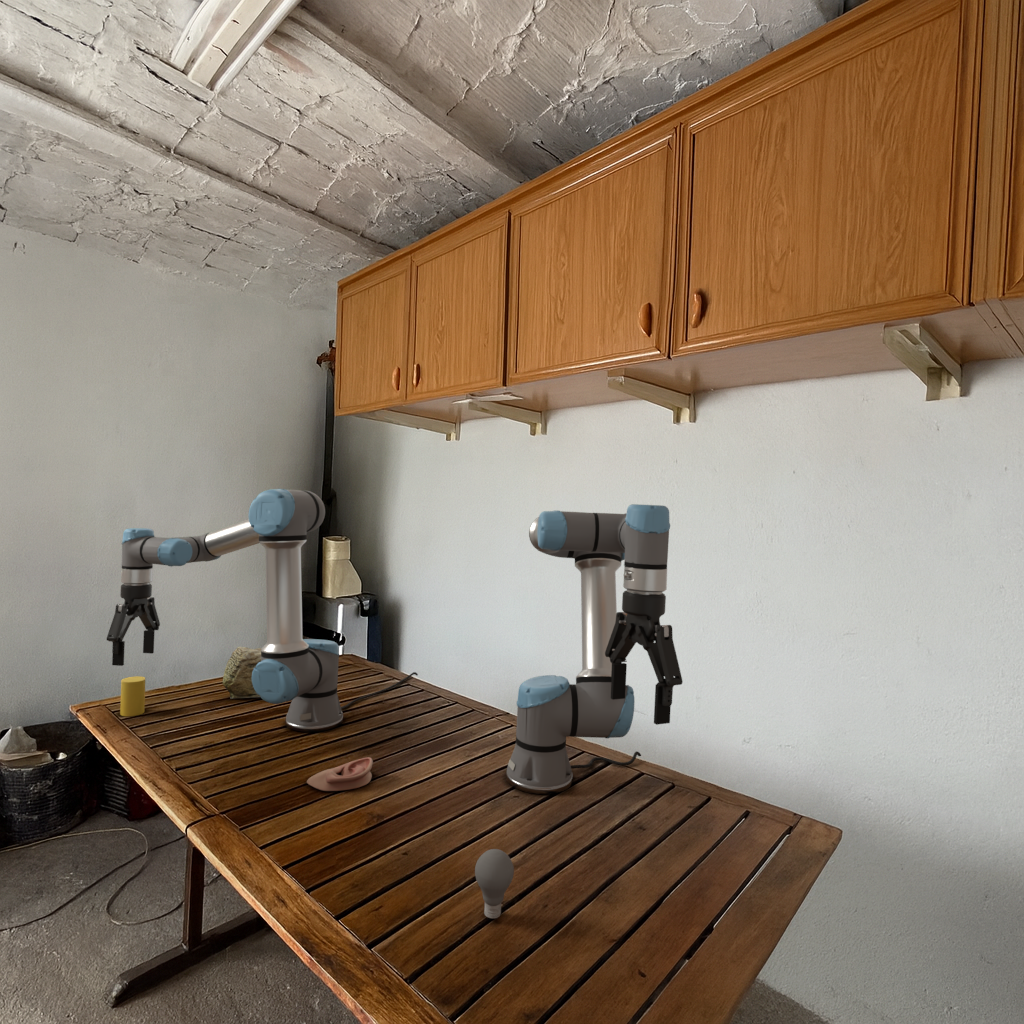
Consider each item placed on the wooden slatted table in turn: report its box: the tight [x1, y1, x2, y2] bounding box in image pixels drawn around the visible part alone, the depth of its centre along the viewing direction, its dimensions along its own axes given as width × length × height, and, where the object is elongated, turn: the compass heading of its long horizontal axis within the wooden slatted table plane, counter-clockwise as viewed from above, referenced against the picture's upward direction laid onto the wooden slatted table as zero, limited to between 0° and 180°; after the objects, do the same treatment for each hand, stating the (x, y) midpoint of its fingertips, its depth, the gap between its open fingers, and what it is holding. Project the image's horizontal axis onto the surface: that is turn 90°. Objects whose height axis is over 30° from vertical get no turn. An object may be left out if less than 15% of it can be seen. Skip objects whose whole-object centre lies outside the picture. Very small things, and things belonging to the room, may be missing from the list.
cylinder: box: [119, 675, 146, 717], centre depth 178 cm, size 6×6×10 cm
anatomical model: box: [306, 756, 374, 792], centre depth 141 cm, size 13×4×12 cm
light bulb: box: [474, 848, 515, 919], centre depth 98 cm, size 6×6×10 cm
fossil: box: [222, 646, 262, 699], centre depth 198 cm, size 9×18×15 cm, turn 132°
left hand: (133, 659), depth 178 cm, fingers open, 13 cm apart
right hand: (638, 710), depth 113 cm, fingers open, 13 cm apart
